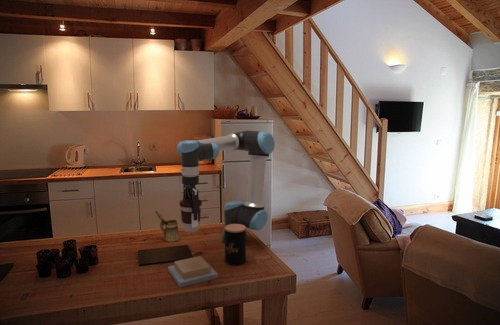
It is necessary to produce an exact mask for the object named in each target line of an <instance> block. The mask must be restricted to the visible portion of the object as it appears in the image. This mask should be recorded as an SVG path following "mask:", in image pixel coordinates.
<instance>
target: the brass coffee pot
mask: <svg viewBox="0 0 500 325" xmlns="http://www.w3.org/2000/svg"><path fill="white" fill-rule="evenodd" d="M155 215H157V217H158V218H159V220H160V224H159V228H160V230H161V231H162V233H163V235H164V236H163V240H164V242H165V243H166V242H167V243H176V242H178V241H180V240H181V236H180V233H179V223H178V220H176V219H170V220H165V219H164V217H163V215H162V213H160V212H159V211H157V210H155ZM164 227H165V228H164Z"/></svg>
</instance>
